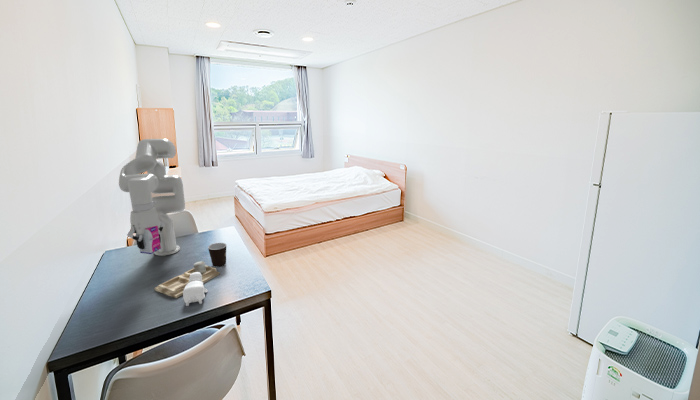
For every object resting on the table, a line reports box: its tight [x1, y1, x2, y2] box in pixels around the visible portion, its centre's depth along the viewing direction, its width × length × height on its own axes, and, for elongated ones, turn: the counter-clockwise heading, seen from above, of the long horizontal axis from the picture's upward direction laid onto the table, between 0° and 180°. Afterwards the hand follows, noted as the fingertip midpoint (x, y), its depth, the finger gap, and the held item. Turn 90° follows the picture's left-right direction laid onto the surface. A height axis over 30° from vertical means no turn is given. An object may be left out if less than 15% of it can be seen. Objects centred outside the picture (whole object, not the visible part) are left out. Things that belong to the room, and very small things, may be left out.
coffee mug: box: [207, 242, 227, 268], centre depth 163 cm, size 12×9×10 cm
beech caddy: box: [154, 260, 221, 299], centre depth 145 cm, size 14×23×6 cm, turn 154°
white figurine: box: [182, 272, 208, 307], centre depth 133 cm, size 9×8×15 cm
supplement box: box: [139, 226, 161, 255], centre depth 139 cm, size 6×6×12 cm
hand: (149, 245), depth 139 cm, fingers closed on supplement box, 6 cm apart
